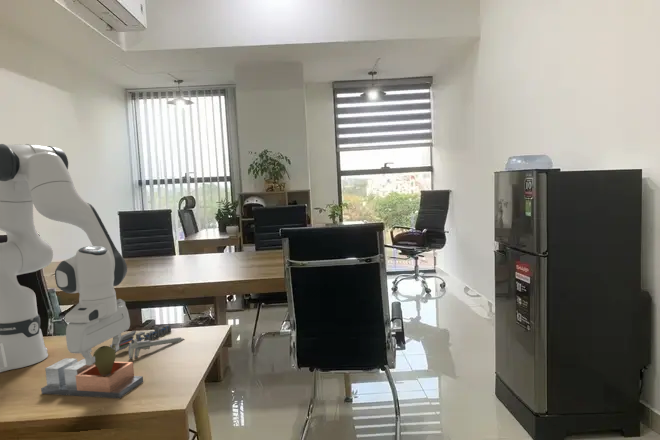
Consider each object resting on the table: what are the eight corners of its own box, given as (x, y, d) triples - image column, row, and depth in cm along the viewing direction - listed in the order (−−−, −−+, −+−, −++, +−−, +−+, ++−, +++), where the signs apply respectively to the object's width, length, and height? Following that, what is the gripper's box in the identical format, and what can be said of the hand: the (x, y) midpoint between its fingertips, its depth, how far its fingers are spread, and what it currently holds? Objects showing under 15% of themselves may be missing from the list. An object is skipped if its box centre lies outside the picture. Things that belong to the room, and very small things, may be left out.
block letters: (115, 356, 151) (114, 339, 150) (112, 356, 151) (110, 339, 151) (171, 332, 173) (170, 317, 173) (168, 331, 174) (166, 317, 173)
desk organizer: (41, 393, 125) (39, 370, 124) (69, 377, 135) (67, 356, 134) (119, 398, 120) (117, 374, 119) (143, 381, 129) (141, 359, 129)
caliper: (131, 360, 147) (129, 341, 146) (129, 359, 148) (127, 340, 147) (184, 340, 163) (183, 322, 163) (182, 339, 164) (181, 322, 164)
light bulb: (103, 388, 122) (99, 351, 121) (91, 384, 125) (87, 348, 124) (122, 380, 127) (119, 344, 126) (110, 376, 130) (106, 341, 129)
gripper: (114, 296, 135) (118, 343, 136) (59, 318, 115) (64, 372, 116) (133, 297, 134) (137, 343, 135) (81, 318, 114) (86, 373, 115)
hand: (103, 357), depth 126 cm, fingers open, 8 cm apart
